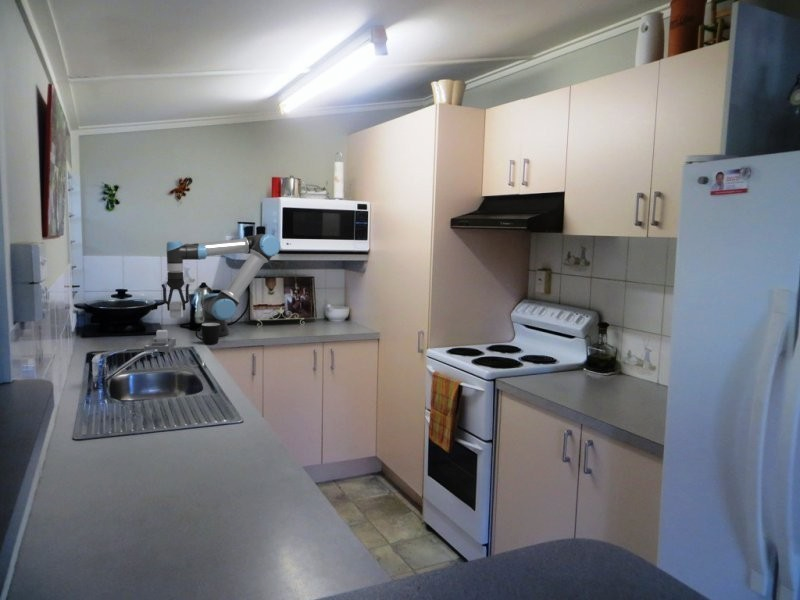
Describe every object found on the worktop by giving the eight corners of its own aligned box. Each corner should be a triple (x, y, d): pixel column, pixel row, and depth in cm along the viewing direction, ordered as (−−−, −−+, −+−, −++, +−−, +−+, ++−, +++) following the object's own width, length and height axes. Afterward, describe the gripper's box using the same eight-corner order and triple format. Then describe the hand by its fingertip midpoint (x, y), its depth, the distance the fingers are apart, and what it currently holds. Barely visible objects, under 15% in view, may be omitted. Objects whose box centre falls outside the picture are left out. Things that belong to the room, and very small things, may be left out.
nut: (182, 316, 308) (181, 301, 307) (181, 318, 303) (180, 302, 302) (172, 316, 307) (172, 301, 306) (171, 318, 302) (170, 302, 301)
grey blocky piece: (175, 344, 301) (175, 328, 300) (168, 352, 281) (168, 336, 280) (152, 344, 299) (152, 329, 298) (144, 353, 279) (143, 336, 278)
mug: (221, 342, 310) (221, 322, 309) (218, 345, 301) (218, 325, 300) (197, 341, 309) (197, 322, 307) (193, 345, 300) (193, 325, 299)
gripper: (194, 271, 308) (195, 315, 311) (158, 271, 304) (159, 315, 307) (192, 272, 300) (193, 317, 303) (155, 272, 297) (156, 318, 300)
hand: (176, 316), depth 305 cm, fingers closed on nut, 5 cm apart
